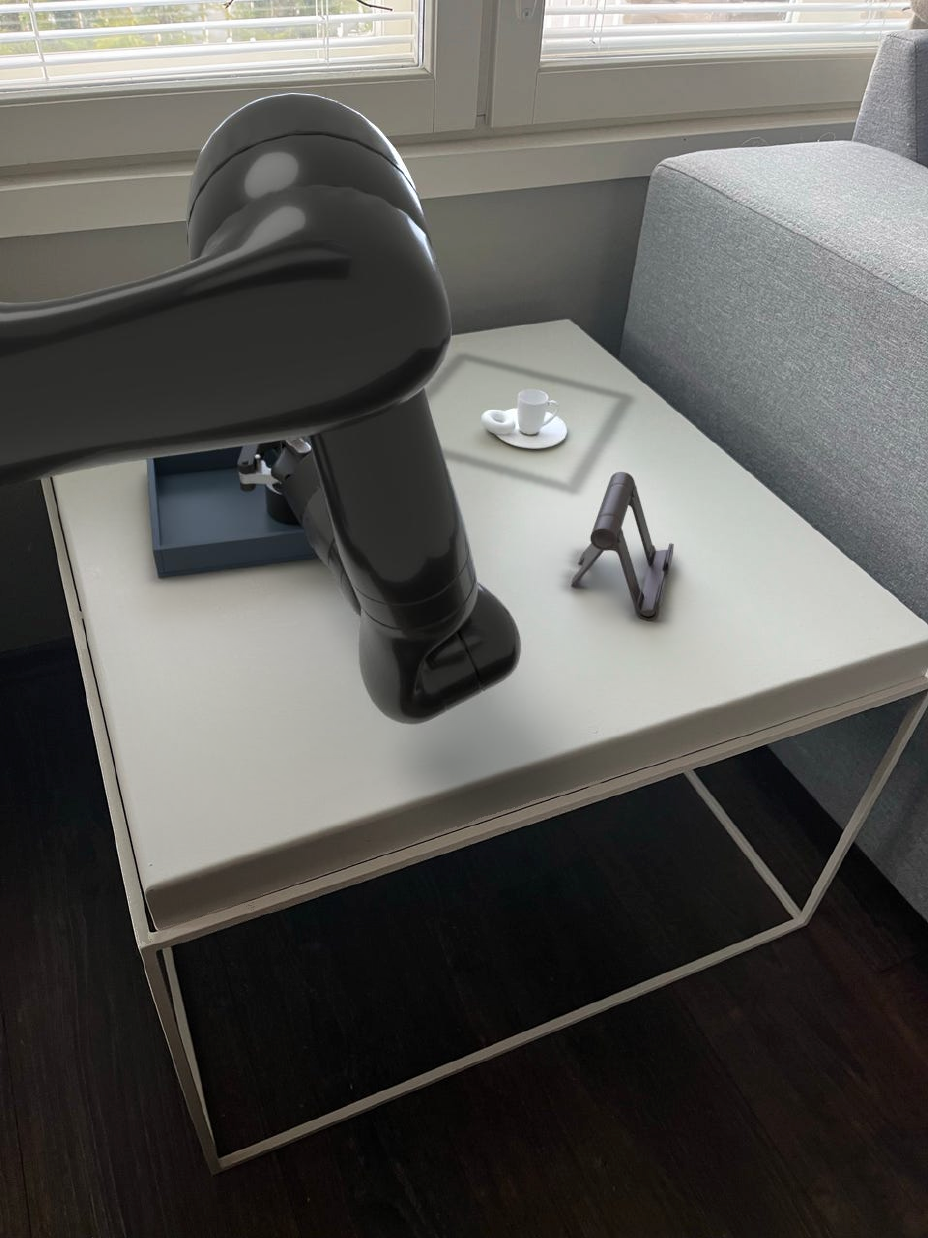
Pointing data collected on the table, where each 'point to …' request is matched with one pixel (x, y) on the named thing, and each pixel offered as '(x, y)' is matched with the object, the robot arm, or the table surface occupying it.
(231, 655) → the table surface
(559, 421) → the teacup and saucer
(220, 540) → the tray
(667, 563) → the tablet stand
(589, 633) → the table surface
